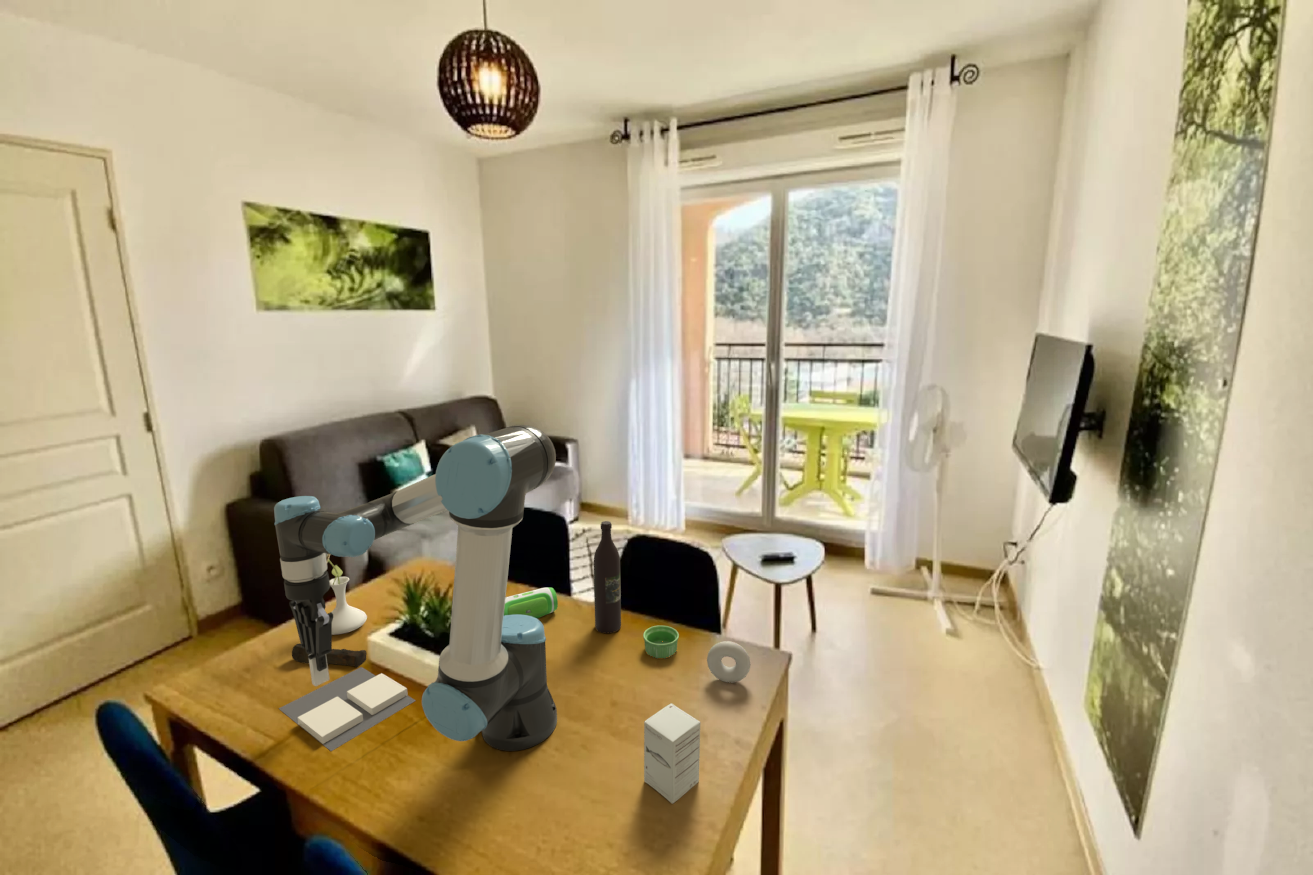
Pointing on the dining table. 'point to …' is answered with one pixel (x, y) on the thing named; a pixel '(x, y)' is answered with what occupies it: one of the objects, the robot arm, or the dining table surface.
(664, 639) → the ramekin
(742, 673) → the donut
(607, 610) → the wine bottle
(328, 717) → the tile near
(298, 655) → the hand tool
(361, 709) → the mat
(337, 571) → the flower in vase
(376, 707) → the tile far
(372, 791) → the dining table surface
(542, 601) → the speaker
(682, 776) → the supplement box
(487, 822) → the dining table surface
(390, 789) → the dining table surface
